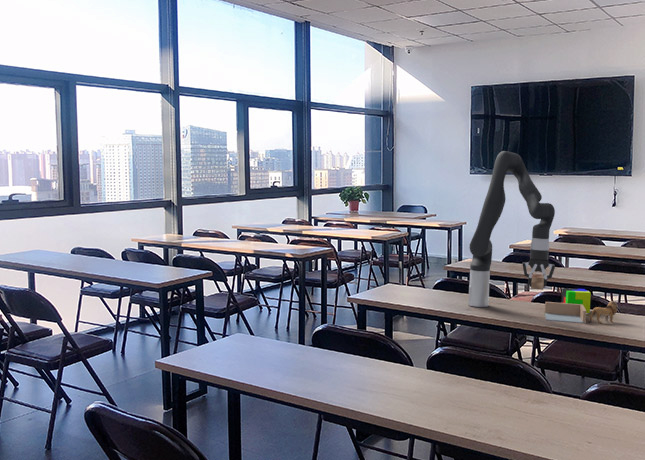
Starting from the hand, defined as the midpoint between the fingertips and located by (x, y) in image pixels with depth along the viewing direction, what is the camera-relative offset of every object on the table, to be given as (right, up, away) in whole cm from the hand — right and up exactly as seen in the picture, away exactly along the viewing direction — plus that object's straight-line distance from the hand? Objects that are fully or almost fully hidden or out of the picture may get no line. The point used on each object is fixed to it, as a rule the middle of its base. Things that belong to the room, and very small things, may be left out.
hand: (537, 286), depth 275 cm
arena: (+13, -14, +3) cm, 20 cm away
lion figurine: (+28, -15, -3) cm, 32 cm away
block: (0, -1, 0) cm, 1 cm away
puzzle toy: (+24, -14, +19) cm, 34 cm away
